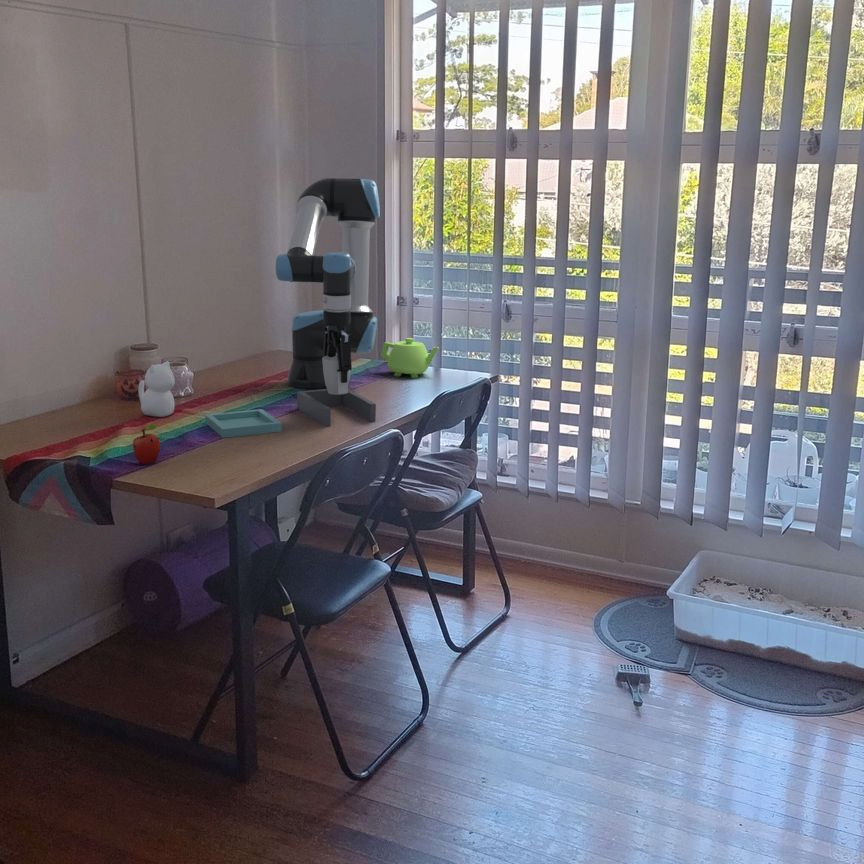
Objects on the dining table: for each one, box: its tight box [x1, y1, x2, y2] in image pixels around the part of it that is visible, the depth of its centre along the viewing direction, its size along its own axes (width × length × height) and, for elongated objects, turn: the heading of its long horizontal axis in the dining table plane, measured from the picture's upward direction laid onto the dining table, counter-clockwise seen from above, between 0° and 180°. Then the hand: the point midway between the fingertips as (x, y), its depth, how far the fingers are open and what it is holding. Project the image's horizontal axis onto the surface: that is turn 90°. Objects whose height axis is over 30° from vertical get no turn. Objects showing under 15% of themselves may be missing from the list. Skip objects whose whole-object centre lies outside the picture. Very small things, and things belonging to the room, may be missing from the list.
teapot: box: [380, 337, 440, 379], centre depth 327 cm, size 20×13×13 cm
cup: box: [322, 354, 352, 395], centre depth 271 cm, size 8×8×10 cm
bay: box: [296, 388, 377, 427], centre depth 274 cm, size 22×15×5 cm
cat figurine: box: [138, 360, 176, 418], centre depth 267 cm, size 9×12×15 cm
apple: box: [132, 423, 161, 465], centre depth 225 cm, size 8×7×10 cm
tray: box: [204, 408, 283, 439], centre depth 259 cm, size 16×16×2 cm
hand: (336, 389), depth 272 cm, fingers closed on cup, 8 cm apart
